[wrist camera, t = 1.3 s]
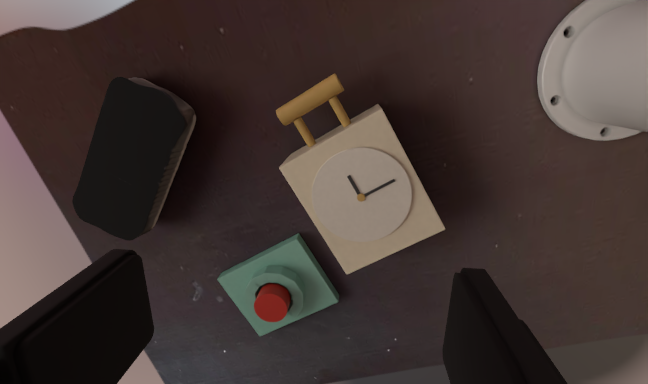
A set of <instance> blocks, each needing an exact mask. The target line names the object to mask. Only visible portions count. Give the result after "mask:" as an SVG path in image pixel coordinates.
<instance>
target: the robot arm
mask: <svg viewBox="0 0 648 384" xmlns="http://www.w3.org/2000/svg"><path fill="white" fill-rule="evenodd" d="M564 30H565V31H566V34H565V36H564ZM537 86H538V95H539V98H540V101H541V104H542V107H543V109H544V110H545V112H546V113H547V115H548V117H549V118H550V119H551V120H552V121H553V122H554V123H555V124H556V125H557V126H558V127H560V128H561V129H563V130H564V131H566V132H568V133H570V134H573V135H576V136H578V137H582V138H586V139H590V140H600V141H608V140H616V139H622V138H626V137H629V136H633V135H636V134H638V133H640V132H642V131H645V132H648V0H585V1H584V2H582V3H581V4H580V5H579V6H577V7H576V8H575V9H574V10H572V11H571V12H570V13H569V14H568V15H567V16H566V17H565V18H564V19H563V20H562V21H561V22H560V24H559V25H558V26H557V27H556V29H555V30H554V32H553V33H552V35H551V36H550V38H549V40H548V42H547V44H546V46H545V48H544V50H543V52H542V56H541V59H540V63H539V67H538V76H537ZM551 98H553V101H552V102H550V100H551ZM601 130H602V131H601ZM153 333H154V325H153V320H152V314H151V308H150V303H149V297H148V292H147V286H146V280H145V275H144V269H143V263H142V259H141V257H140V256H139V255H137V253H136V252H135V251H133V250H120V249H113V250H111V251H109V252H108V253H106V254H105V255H104V256H102V257H101V258H99V259H98V260H97V261H95V262H94V263H92V264H91V265H90V266H88V267H87V268H85V269H84V270H82V271H81V272H80V273H79V274H77V275H75V276H74V277H73V278H71V279H70V280H68V281H67V282H65V283H64V284H63V285H62V286H60V287H58V288H57V289H56V290H54V291H53V292H51V293H50V294H49V295H47V296H46V297H44V298H43V299H41V300H40V301H39V302H37V303H36V304H34V305H33V306H32V307H30V308H29V309H28V310H26V311H25V312H23V313H22V314H21V315H19V316H17V317H16V318H15V319H13V320H12V321H10V322H9V323H8V324H6V325H5V326H3V327H2V328H0V384H117V383H118V381H119V380H120V379H121V378H122V376H123V375H124V374H125V372H126V371H127V370H128V369H129V367H130V366H131V365H132V363H133V362H134V361H135V360H136V358H137V357H138V356H139V354H140V353H141V352H142V351H143V349H144V348H145V347H146V346H147V344H148V343H149V342H150V340H151V338H152V336H153ZM443 360H444V364H445V367H446V370H447V373H448V377H449V380H450V383H451V384H567V382H566V381H565V379H564V378H563V377H562V375H561V374H560V372H559V371H558V369H557V368H556V367H555V365H554V364H553V362H552V361H551V359H550V358H549V357H548V355H547V354H546V352H545V351H544V349H543V348H542V346H541V345H540V343H539V342H538V341H537V339H536V338H535V336H534V335H533V333H532V332H531V331H530V329H529V328H528V326H527V325H526V324H525V323H524V322H523V321H522V320H520V319H518V317H517V316H516V314H515V313H514V311H513V310H512V308H511V307H510V305H509V304H508V302H507V301H506V300H505V298H504V297H503V295H502V294H501V292H500V291H499V289H498V288H497V286H496V285H495V283H494V282H493V280H492V279H491V277H490V276H489V274H488V273H487V272H486V270H485V269H473V268H463V269H462V270H461V273H455V275H454V279H453V285H452V292H451V298H450V305H449V311H448V318H447V325H446V331H445V338H444V344H443Z"/></svg>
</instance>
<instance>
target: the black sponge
mask: <svg viewBox="0 0 648 384" xmlns="http://www.w3.org/2000/svg"><path fill="white" fill-rule="evenodd" d="M195 122H196V115H195V112H194V109H193V108H192V107H191V106H190V105H189V104H187V103H186V102H185V101H183V100H182V99H180V98H179V97H178V96H176V95H175V94H174V93H172V92H170V91H168V90H166V89H164V88H161V87H158V86H156V85H154V84H153V83H151V82H149V81H147V80H145V79H142V78H135V77H134V78H129V79H126V78H123V77H117V78H115V79H113V80H112V81H111V83H110V84H109V87H108V89H107V93H106V96H105V99H104V102H103V105H102V108H101V111H100V115H99V118H98V121H97V124H96V128H95V131H94V135H93V138H92V141H91V145H90V148H89V151H88V155H87V158H86V161H85V165H84V168H83V171H82V174H81V178H80V181H79V184H78V187H77V189H76V192H75V194H74V196H73V205H74V209H75V211H76V213H77V215H78V216H79V218H80V219H82V220H83V221H85V222H87V223H90V224H92V225H94V226H97V227H99V228H101V229H102V230H104V231H106V232H107V233H109V234H111V235H114V236H116V237H119V238H122V239H125V240H133V239H135V238H137V237H139V236H141V235H143V234H145V233H146V232H148V231H150V230H151V229H152V228H153V227H154V226H155V225H156V222H157V220H158V217H159V214H160V212H161V210H162V207H163V205H164V202H165V200H166V197H167V194H168V192H169V189H170V186H171V183H172V182H173V178H174V176H175V174H176V171H177V170H178V167H179V165H180V161H181V159H182V156H183V154H184V151H185V149H186V146H187V143H188V141H189V138H190V136H191V134H192V131H193V129H194V126H195Z"/></svg>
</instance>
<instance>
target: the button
mask: <svg viewBox="0 0 648 384" xmlns="http://www.w3.org/2000/svg"><path fill="white" fill-rule="evenodd" d="M290 301H291V296H290V293H289V292H288V290H287V289H286V288H285V287H284V286H282V285H280V284H276V283H270V284H267V285H265V286H263V287H262V288H261V289H260V291H259V294H258V296H257V298H256V300H255V302H254V310H255V312H256V314H257V315H258V317H260V318H261V319H262V320H264V321H267V322H278V321H280V320H282V319H283V318H284V317H285V316H286V314H287V311H288V308H289V305H290Z"/></svg>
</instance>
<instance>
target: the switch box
mask: <svg viewBox="0 0 648 384" xmlns="http://www.w3.org/2000/svg"><path fill="white" fill-rule="evenodd" d="M217 280H218V281H219V283H220V284H221V285H222V287H223V288H224V289H225V291H226V292H227V293H228V295H229V296H230V297H231V299H232V300H233V301H234V303H235V304H236V305H237V307H238V308H239V309H240V311H241V312H242V313H243V315H244V316H245V317H246V319H247V320H248V321H249V323H250V324H251V325H252V327H253V328H254V329H255V331H256V332H257V333H258V335H259V336H262V335H264V334H267V333H269V332H271V331H273V330H276V329H278V328H280V327H283V326H285V325H287V324H289V323H292V322H294V321H296V320H299V319H301V318H303V317H305V316H308V315H310V314H312V313H314V312H317V311H319V310H321V309H324V308H326V307H328V306H330V305H333V304H335V303H337V302H338V301H339V294H338V292H337V291H336V289H335V288H334V286H333V285H332V283H331V282H330V280H329V279H328V277H327V275H326V274H325V272H324V271H323V269H322V268H321V266H320V265H319V263H318V262H317V260H316V259H315V257H314V256H313V254H312V252H311V251H310V249H309V248H308V246H307V245H306V243H305V242H304V240H303V239H302V237H301V236H300V234H299V233H298V234H296V235H294V236H292V237H291V238H289V239H287V240H285V241H283V242H281V243H279V244H277V245H275V246H273V247H271V248H269V249H267V250H265V251H263V252H261V253H259V254H257V255H255V256H253V257H251V258H249V259H247V260H245V261H243V262H242V263H240V264H238V265H236V266H234V267H232V268H230V269H228V270H226V271H224V272H222V273H221V274H220V276H219V277H218V278H217ZM270 283H276V284H280V285H282V286H284V287H285V288H286V289H287V290H288V292H289V293H290V296H291V301H290V305H289V308H288V311H287V314H286V316H285V317H284V318H283V319H282V320H280V321H278V322H267V321H264V320H262V319H261V318H260V317H258V315H257V314H256V312H255V310H254V302H255V300H256V298H257V296H258V294H259V291H260V289H261V288H262V287H263V286H265V285H267V284H270Z"/></svg>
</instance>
